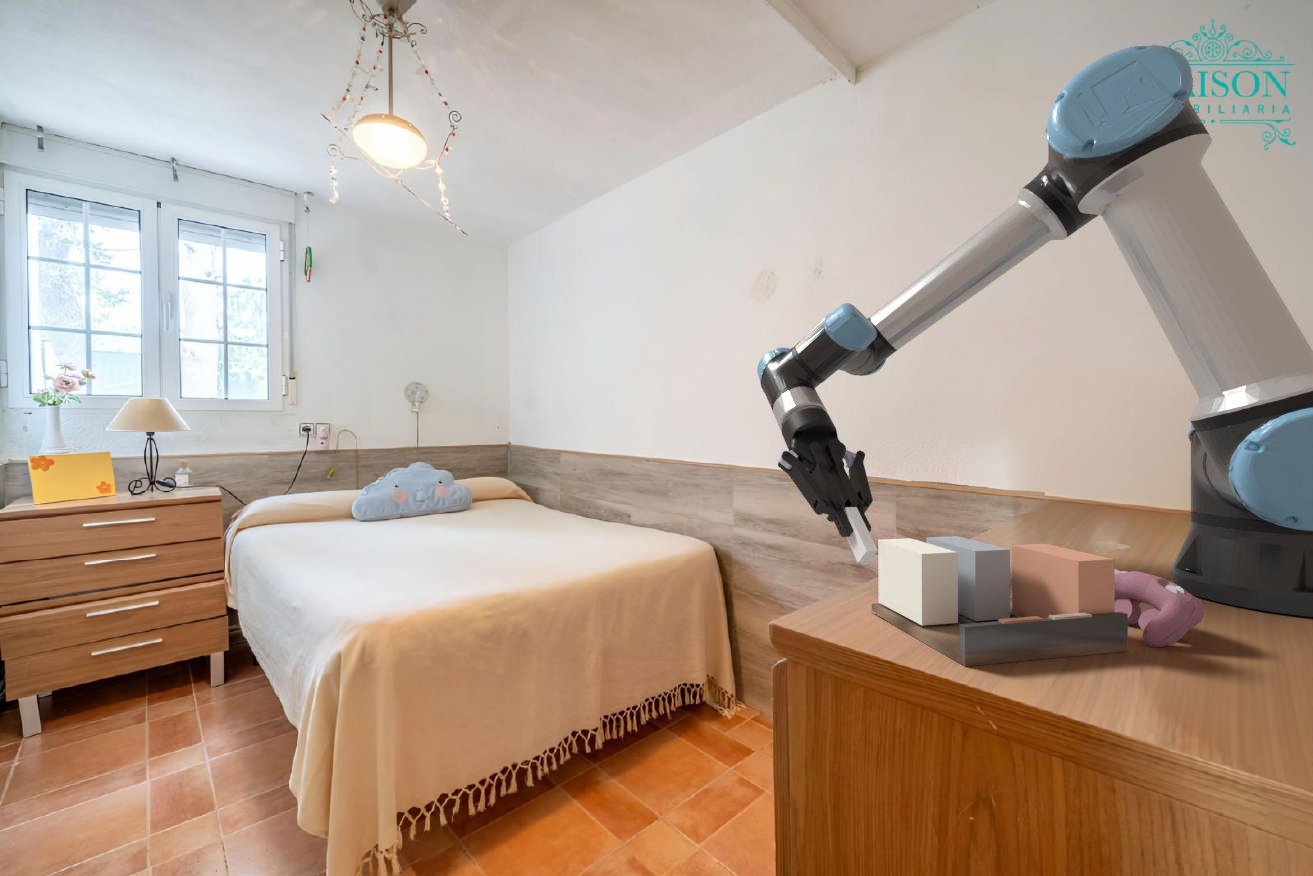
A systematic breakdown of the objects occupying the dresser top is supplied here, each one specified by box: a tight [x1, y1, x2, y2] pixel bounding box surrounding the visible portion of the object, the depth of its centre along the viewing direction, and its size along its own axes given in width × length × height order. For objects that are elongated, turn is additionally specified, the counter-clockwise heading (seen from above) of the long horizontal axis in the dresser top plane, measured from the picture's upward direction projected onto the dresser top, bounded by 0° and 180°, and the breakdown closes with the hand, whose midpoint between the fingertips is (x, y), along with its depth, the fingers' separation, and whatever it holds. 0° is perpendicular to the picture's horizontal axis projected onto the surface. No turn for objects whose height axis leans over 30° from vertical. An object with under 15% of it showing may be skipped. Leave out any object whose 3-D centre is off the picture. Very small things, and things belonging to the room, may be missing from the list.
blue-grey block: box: [925, 535, 1011, 621], centre depth 54 cm, size 7×4×7 cm, turn 10°
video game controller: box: [1115, 568, 1206, 648], centre depth 52 cm, size 10×5×7 cm, turn 0°
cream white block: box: [877, 537, 958, 626], centre depth 53 cm, size 7×4×7 cm, turn 10°
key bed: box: [871, 597, 1129, 667], centre depth 51 cm, size 14×17×4 cm
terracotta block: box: [1011, 543, 1116, 618], centre depth 50 cm, size 7×4×7 cm, turn 10°
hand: (867, 556), depth 62 cm, fingers closed
